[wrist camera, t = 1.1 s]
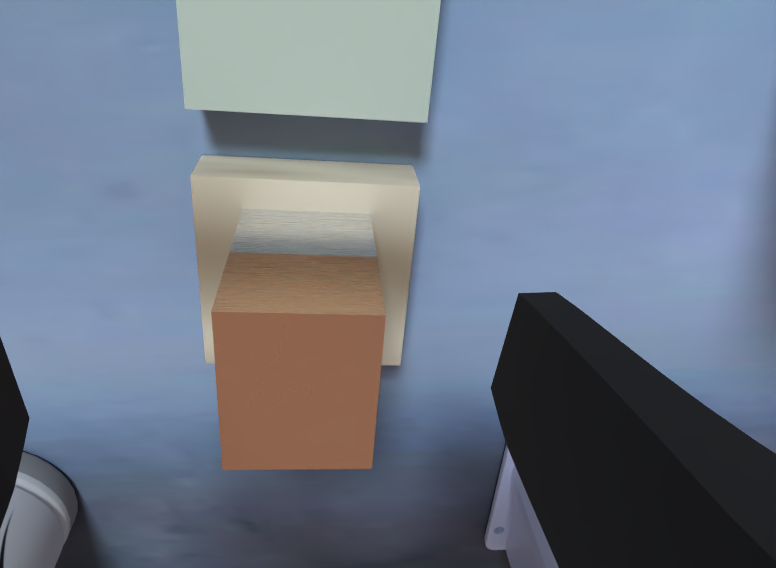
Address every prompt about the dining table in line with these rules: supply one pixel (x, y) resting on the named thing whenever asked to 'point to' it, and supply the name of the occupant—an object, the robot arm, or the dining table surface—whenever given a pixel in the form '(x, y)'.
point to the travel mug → (37, 516)
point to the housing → (299, 342)
